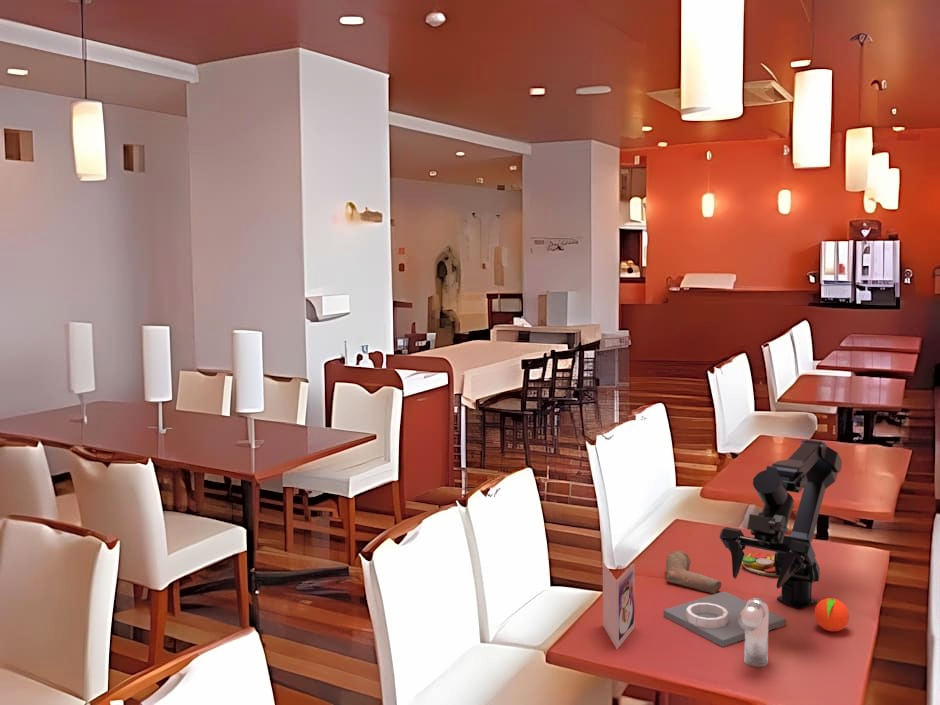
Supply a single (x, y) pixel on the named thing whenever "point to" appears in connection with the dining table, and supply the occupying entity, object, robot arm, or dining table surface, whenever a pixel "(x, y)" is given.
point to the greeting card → (619, 604)
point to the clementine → (831, 614)
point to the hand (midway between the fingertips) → (755, 582)
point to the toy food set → (760, 563)
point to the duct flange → (716, 618)
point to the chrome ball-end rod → (755, 632)
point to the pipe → (688, 574)
